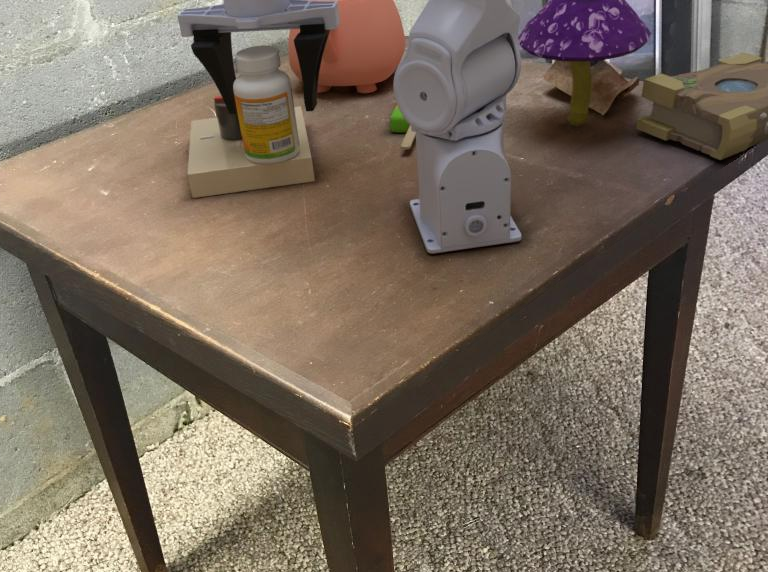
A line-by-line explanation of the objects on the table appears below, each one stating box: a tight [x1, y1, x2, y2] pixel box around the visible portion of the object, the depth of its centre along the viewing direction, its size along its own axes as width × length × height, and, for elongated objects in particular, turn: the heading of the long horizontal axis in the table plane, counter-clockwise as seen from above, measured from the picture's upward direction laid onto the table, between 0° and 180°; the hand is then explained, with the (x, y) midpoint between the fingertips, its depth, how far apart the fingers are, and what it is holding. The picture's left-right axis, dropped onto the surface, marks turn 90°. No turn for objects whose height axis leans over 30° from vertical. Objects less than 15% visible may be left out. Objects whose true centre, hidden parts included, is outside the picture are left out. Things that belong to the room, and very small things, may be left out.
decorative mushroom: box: [517, 0, 652, 127], centre depth 85 cm, size 12×12×15 cm
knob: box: [213, 95, 242, 140], centre depth 89 cm, size 4×4×4 cm
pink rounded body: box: [288, 0, 406, 94], centre depth 104 cm, size 13×20×12 cm, turn 164°
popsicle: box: [389, 104, 416, 150], centre depth 93 cm, size 6×15×2 cm, turn 168°
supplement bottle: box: [233, 44, 300, 164], centre depth 82 cm, size 5×5×10 cm
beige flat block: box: [186, 105, 316, 199], centre depth 90 cm, size 14×12×3 cm
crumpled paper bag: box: [542, 60, 641, 116], centre depth 96 cm, size 6×12×8 cm
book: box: [636, 52, 768, 161], centre depth 85 cm, size 15×11×5 cm
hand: (272, 108), depth 84 cm, fingers open, 7 cm apart
